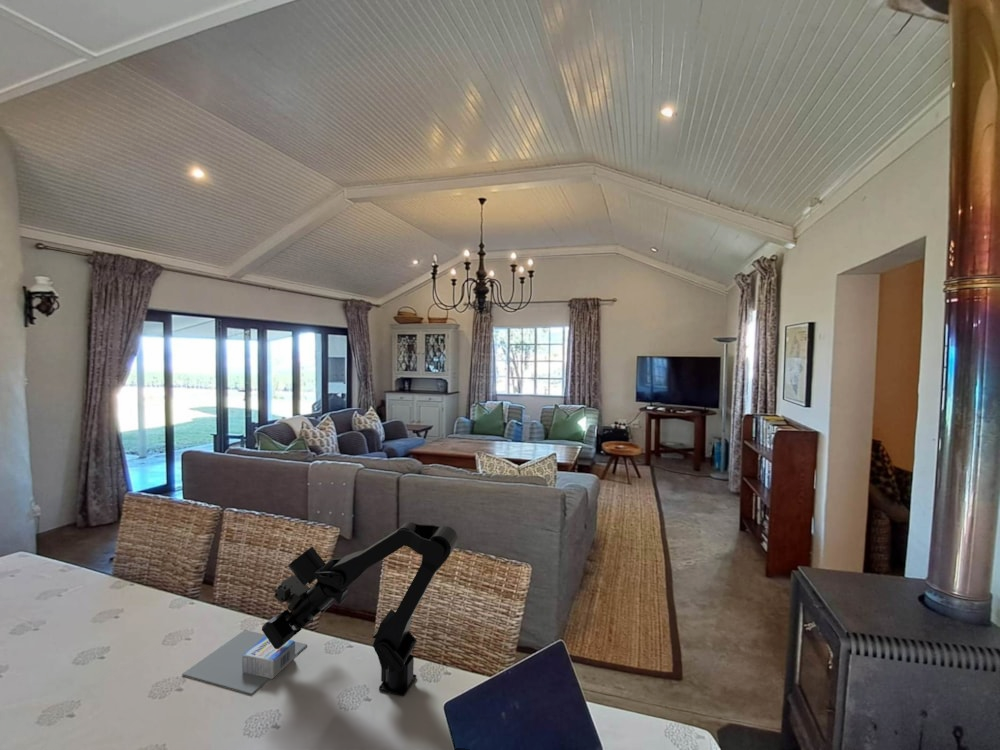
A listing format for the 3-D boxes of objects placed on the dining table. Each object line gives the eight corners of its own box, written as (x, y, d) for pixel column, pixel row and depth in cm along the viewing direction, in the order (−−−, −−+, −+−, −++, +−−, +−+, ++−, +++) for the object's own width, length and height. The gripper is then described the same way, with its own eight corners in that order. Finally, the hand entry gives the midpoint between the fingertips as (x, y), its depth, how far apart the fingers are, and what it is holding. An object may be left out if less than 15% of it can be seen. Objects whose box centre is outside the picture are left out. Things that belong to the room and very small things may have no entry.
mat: (307, 645, 117) (307, 644, 117) (251, 695, 100) (251, 693, 100) (245, 631, 123) (245, 629, 123) (182, 675, 105) (182, 673, 105)
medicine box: (273, 661, 104) (241, 654, 106) (273, 679, 104) (241, 673, 106) (295, 640, 112) (265, 634, 114) (295, 657, 112) (265, 651, 114)
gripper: (323, 553, 118) (288, 588, 121) (269, 588, 100) (229, 627, 103) (349, 588, 116) (312, 622, 119) (298, 630, 98) (256, 668, 101)
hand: (279, 633), depth 111 cm, fingers closed
